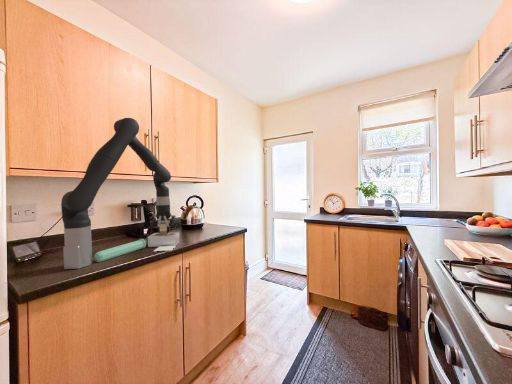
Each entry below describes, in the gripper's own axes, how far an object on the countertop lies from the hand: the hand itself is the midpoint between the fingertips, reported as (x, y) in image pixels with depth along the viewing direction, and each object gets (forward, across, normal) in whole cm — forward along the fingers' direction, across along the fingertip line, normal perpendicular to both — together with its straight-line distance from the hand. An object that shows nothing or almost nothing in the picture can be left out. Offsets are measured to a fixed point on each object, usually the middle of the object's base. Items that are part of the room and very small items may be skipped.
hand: (164, 232), depth 131 cm
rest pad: (+7, +4, -11) cm, 14 cm away
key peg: (+3, 0, 0) cm, 3 cm away
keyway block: (+7, 0, 0) cm, 7 cm away
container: (+7, -16, -18) cm, 25 cm away
